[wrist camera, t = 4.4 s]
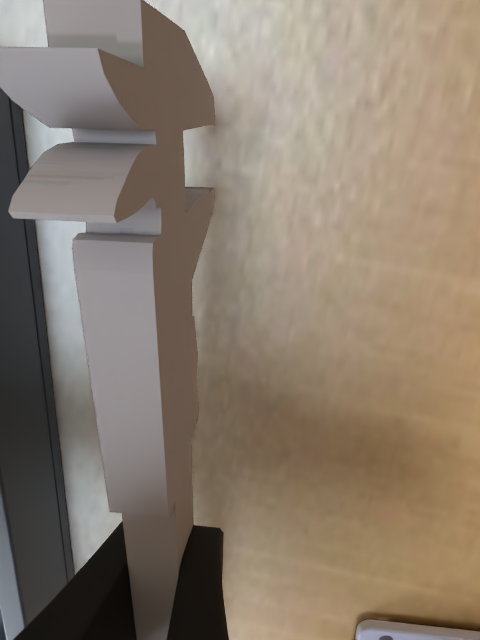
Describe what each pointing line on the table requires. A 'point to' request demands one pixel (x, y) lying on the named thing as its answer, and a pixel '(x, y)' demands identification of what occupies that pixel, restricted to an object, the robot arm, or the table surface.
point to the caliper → (127, 254)
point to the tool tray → (26, 413)
